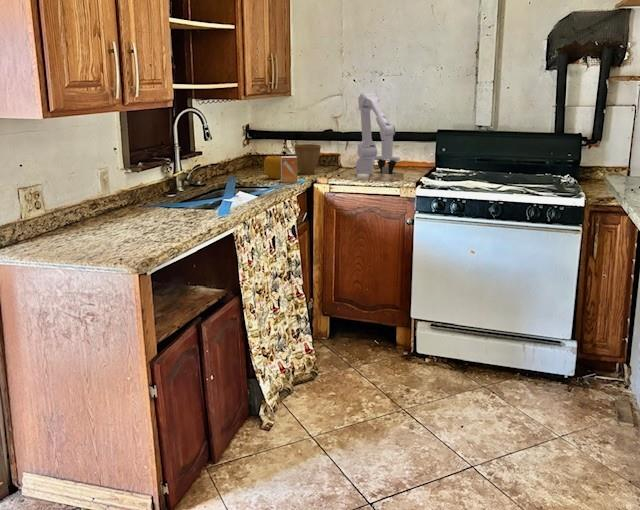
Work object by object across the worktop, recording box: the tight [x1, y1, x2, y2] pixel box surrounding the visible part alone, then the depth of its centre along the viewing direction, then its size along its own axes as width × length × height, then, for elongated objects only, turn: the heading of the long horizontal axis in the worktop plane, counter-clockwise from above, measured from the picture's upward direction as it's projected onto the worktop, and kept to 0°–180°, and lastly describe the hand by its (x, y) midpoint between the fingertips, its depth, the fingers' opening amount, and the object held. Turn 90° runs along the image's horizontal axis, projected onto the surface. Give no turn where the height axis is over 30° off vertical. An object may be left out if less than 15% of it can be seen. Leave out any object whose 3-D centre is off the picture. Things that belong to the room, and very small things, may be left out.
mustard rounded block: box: [263, 154, 282, 180], centre depth 338 cm, size 11×11×13 cm
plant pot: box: [294, 143, 322, 175], centre depth 357 cm, size 15×15×16 cm
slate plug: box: [382, 164, 389, 174], centre depth 335 cm, size 4×4×7 cm
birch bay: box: [368, 170, 405, 183], centre depth 335 cm, size 14×12×4 cm
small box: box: [280, 155, 298, 184], centre depth 328 cm, size 8×6×13 cm
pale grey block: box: [356, 173, 370, 181], centre depth 336 cm, size 6×6×3 cm
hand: (386, 174), depth 335 cm, fingers closed on slate plug, 4 cm apart
